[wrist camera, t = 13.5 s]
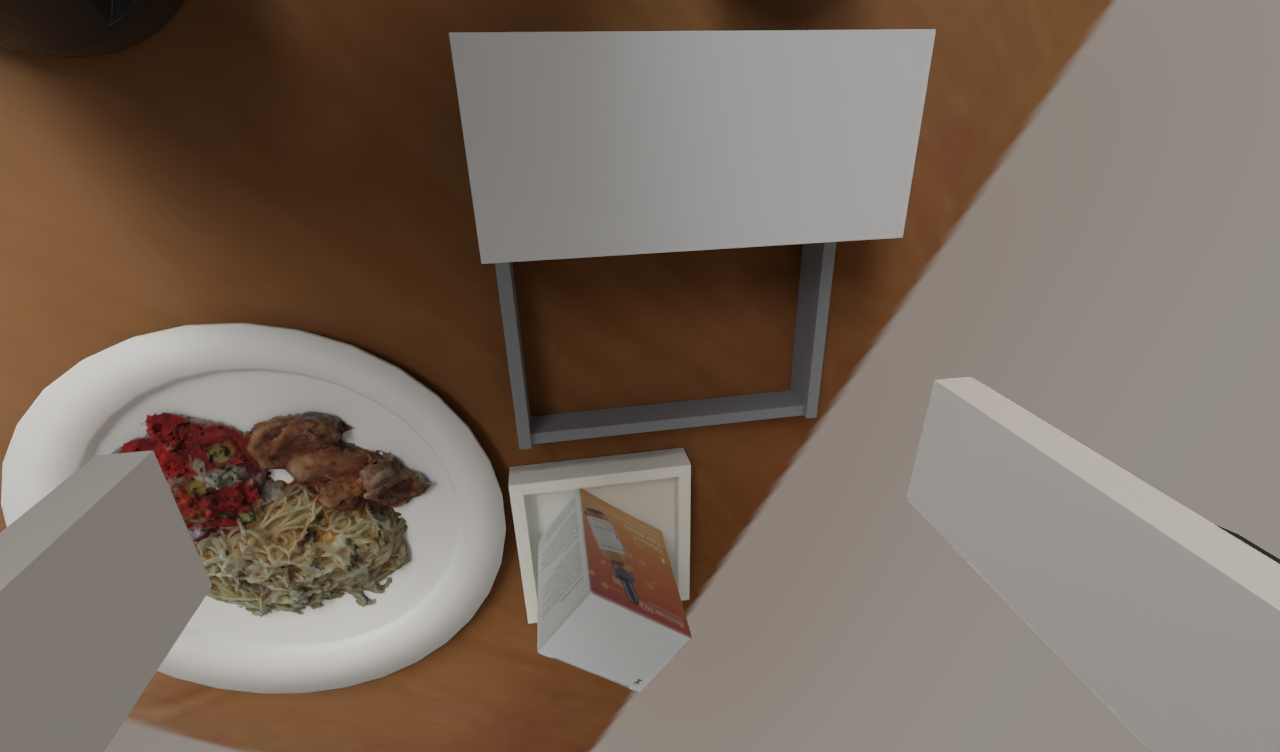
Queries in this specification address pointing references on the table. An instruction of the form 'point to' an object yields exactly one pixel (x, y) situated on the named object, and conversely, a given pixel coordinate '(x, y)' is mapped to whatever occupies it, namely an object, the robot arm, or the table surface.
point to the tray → (624, 481)
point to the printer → (687, 169)
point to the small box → (607, 594)
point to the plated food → (286, 497)
